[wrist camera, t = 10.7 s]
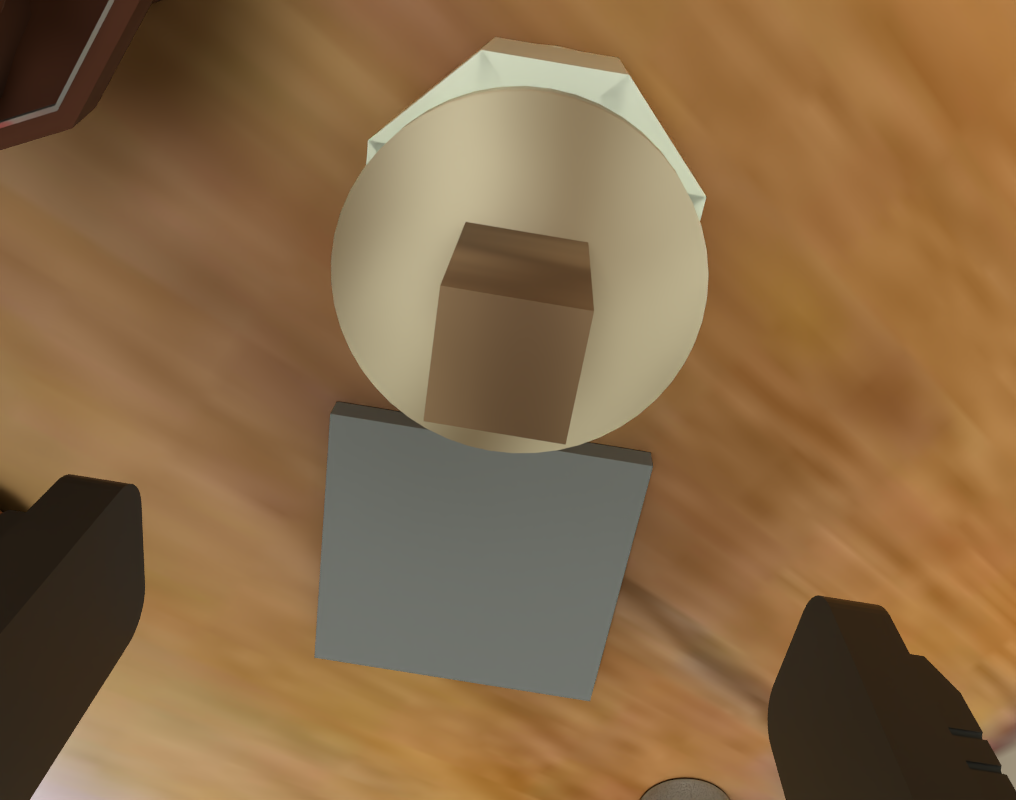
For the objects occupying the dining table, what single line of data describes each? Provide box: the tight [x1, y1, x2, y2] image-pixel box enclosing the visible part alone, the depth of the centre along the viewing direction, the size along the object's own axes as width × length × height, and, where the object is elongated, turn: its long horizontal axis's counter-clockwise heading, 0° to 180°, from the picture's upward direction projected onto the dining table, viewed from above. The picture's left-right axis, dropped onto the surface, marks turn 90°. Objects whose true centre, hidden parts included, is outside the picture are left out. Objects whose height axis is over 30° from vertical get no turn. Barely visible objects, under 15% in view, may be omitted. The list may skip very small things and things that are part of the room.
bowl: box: [366, 37, 706, 221], centre depth 26 cm, size 9×9×6 cm
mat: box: [315, 402, 653, 701], centre depth 34 cm, size 12×12×1 cm
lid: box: [331, 86, 708, 453], centre depth 21 cm, size 10×10×6 cm
